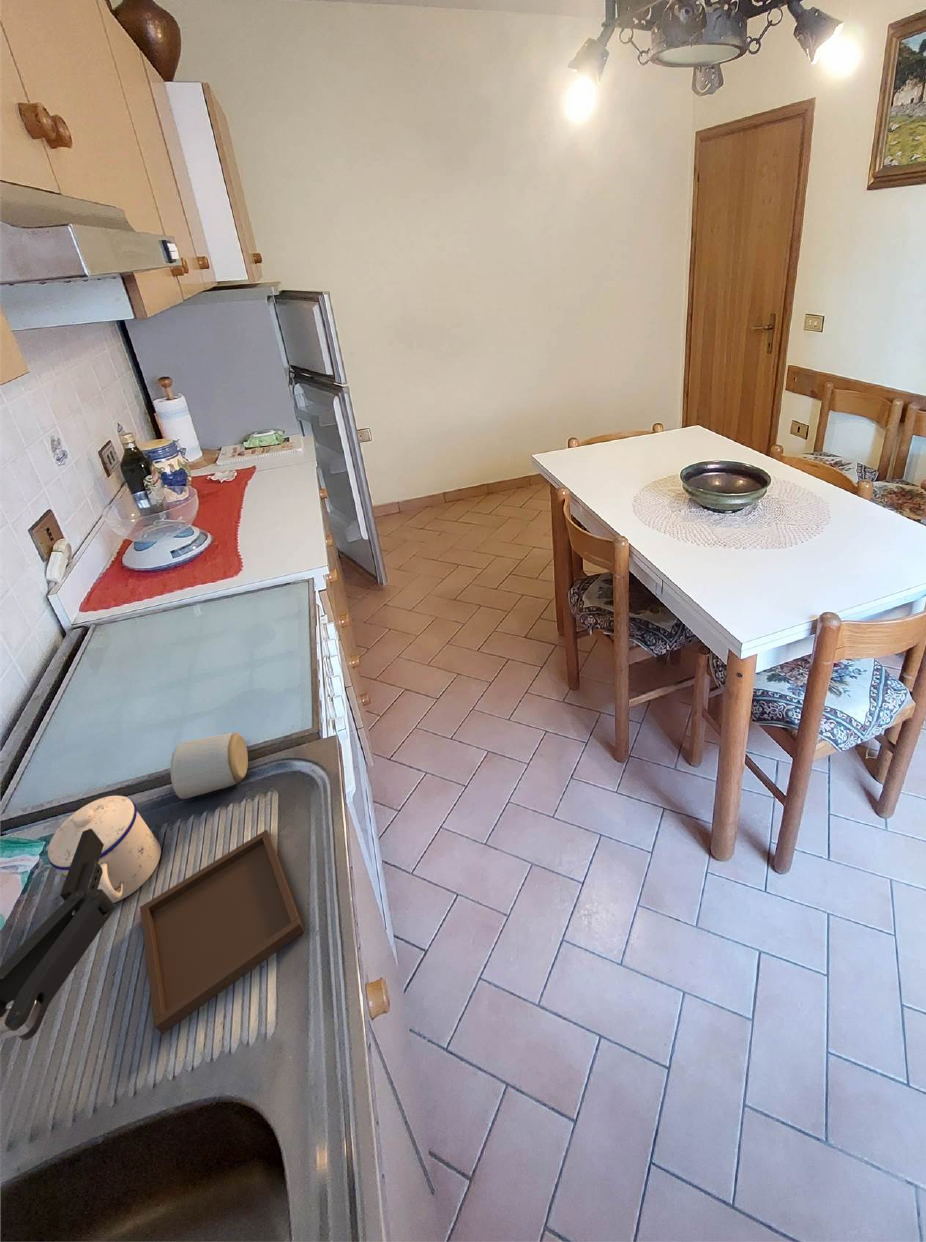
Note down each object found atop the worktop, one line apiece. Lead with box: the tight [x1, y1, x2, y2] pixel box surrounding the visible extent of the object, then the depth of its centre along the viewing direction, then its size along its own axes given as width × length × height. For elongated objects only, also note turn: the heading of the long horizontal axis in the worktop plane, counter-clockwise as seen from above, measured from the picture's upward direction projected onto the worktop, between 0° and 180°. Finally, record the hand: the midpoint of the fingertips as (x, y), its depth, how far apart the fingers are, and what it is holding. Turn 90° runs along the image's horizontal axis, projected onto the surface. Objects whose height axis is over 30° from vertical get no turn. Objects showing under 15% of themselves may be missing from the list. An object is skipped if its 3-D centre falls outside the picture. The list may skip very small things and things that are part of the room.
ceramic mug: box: [169, 732, 249, 800], centre depth 85 cm, size 11×8×8 cm
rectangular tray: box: [139, 829, 305, 1035], centre depth 68 cm, size 15×15×2 cm
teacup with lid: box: [47, 795, 162, 904], centre depth 71 cm, size 12×9×12 cm
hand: (13, 865), depth 57 cm, fingers open, 13 cm apart
